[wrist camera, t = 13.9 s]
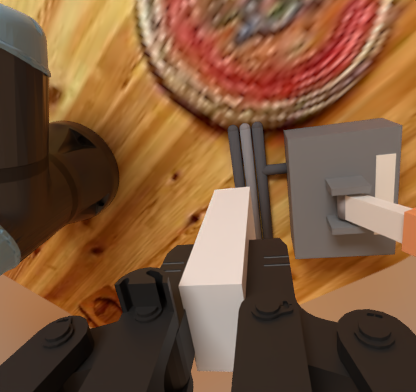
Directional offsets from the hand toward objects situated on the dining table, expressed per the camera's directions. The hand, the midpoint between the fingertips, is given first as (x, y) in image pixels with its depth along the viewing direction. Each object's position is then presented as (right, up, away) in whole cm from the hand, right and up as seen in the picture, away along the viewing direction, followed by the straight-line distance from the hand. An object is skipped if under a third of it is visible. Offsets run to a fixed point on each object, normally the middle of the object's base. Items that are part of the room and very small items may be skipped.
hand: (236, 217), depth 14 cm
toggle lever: (+15, 0, +22) cm, 27 cm away
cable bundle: (+7, +2, +31) cm, 32 cm away
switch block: (+16, +3, +29) cm, 34 cm away
